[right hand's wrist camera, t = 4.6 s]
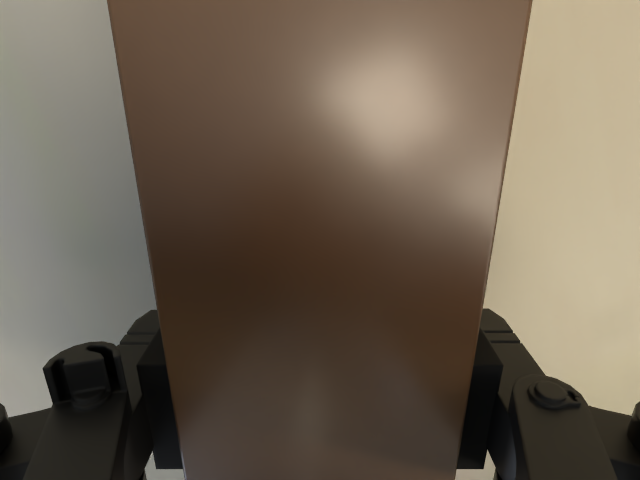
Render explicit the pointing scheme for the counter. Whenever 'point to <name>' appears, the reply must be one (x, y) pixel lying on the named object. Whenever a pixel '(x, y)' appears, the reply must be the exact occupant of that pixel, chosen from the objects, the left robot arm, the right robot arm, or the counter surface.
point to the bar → (319, 222)
